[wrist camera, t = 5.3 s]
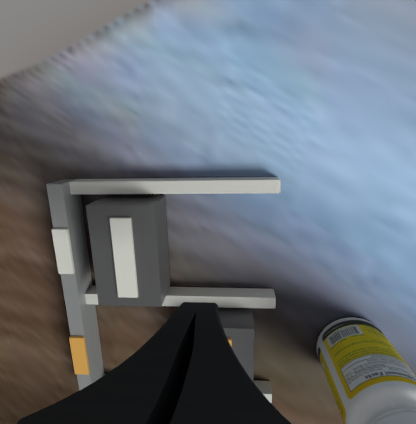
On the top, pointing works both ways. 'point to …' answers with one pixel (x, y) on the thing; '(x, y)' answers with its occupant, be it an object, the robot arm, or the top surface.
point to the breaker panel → (80, 266)
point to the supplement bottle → (366, 374)
